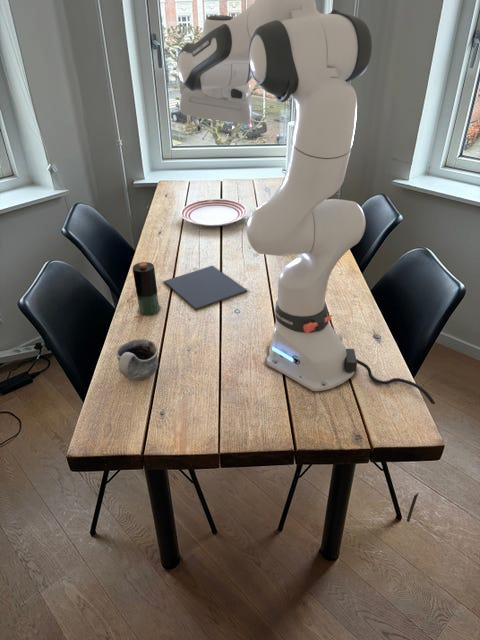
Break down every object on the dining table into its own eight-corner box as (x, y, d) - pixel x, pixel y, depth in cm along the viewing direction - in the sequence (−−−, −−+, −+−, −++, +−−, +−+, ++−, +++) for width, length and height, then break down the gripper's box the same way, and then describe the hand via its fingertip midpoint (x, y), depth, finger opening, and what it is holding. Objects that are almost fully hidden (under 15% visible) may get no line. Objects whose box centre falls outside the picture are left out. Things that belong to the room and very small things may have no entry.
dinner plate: (241, 232, 182) (241, 224, 181) (173, 229, 186) (172, 221, 184) (251, 207, 205) (251, 200, 203) (190, 204, 209) (189, 197, 207)
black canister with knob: (161, 295, 134) (157, 265, 128) (142, 302, 131) (137, 271, 126) (152, 287, 138) (148, 257, 132) (133, 293, 135) (128, 263, 130)
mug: (164, 361, 117) (159, 328, 112) (155, 396, 107) (149, 361, 101) (125, 361, 118) (119, 328, 112) (112, 395, 107) (105, 361, 102)
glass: (162, 311, 137) (160, 293, 133) (144, 317, 134) (142, 299, 131) (153, 302, 140) (151, 285, 137) (136, 308, 138) (133, 290, 134)
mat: (246, 291, 145) (246, 289, 145) (196, 310, 137) (196, 308, 136) (212, 267, 159) (212, 265, 159) (164, 282, 151) (164, 281, 150)
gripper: (176, 82, 125) (177, 132, 135) (252, 94, 124) (247, 144, 134) (182, 73, 129) (182, 122, 139) (255, 85, 128) (250, 133, 139)
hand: (214, 133), depth 137 cm, fingers open, 8 cm apart
